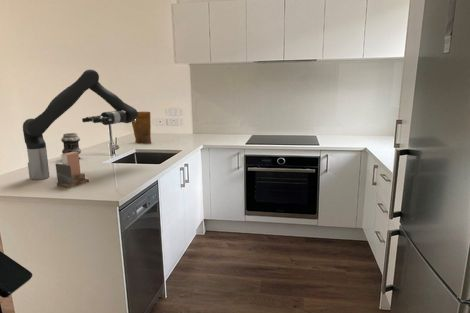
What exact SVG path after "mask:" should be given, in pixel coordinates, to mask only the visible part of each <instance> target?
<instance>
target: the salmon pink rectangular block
mask: <svg viewBox="0 0 470 313" xmlns="http://www.w3.org/2000/svg"><path fill="white" fill-rule="evenodd" d="M60 156H61V164H64V165H70V167H71V176H75V175H78V174H82V173H81V164H80V159H79V157H80V154H79V153H78V152H70V153H65V154H63V153H61V155H60Z"/></svg>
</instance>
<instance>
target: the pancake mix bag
mask: <svg viewBox="0 0 470 313" xmlns="http://www.w3.org/2000/svg"><path fill="white" fill-rule="evenodd" d="M137 112H138V116H137V118H135V119H136V124H135V122H134V120H133V121H132V122H131V125H132V130H133V134H134V139H135V140H134V142H135V144H145V145H146V144H147V145H149V144H152V139H151V134H152V133H151V129H152V128H151V127H152V126H151V124H152V123H151V122H152V121H151V112H150V111H137Z"/></svg>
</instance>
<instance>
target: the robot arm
mask: <svg viewBox="0 0 470 313" xmlns="http://www.w3.org/2000/svg"><path fill="white" fill-rule="evenodd" d="M99 81H100V75H99V73H98V72H97V71H96V70H95V69H86V70H85V71H84V72H83V73H82V74H81V75H80V76H79V78H77V79H76V80H75V82H73V83H72V84H71V85H69V86H68V87H66V88H65V89H63V90H62V91H61V92H59V93H58V94H57V95H55V97H54V98H53V99H52V100H51V101H50V102H49V104H48V105H47V107H46V108H45V110H44V111H43V112H42V113H40V114H39V115H38V116H36V117H35V118H28V119H25V121H24V122H23V124H22V132H23V139H24V143H25V145H26V152H27V158H28V162H27V168H28V169H27V170H28V176H29V177H28V178H29V180H35V181H38V180H45V179H48V178H50V177H51V176H50V167H49V159H48V152H47V146H46V145H47V143H46V142H45V139H44V135H43V134H45V132H47V130H48V128H50V126H52V124H53V123H55V122H56V120H58V119H59V118H60V117H62V116H63V114H65V113H66V112H67V111H68V110H69V109H71V108H72V107H73V106H74V105H75V104H76V103H77V102H78V100H79V99H80V98H81V96H82V95H83V94H84V93H85V92H86V91H88V90H91V91H92V92H94V93H95V94H96V95H98V96H99V97H100V98H101V99H103V100H104V101H105V102H106V103H107V104H108V105H109V106H111V108H113V109H114V110H115V111H113V110H112V111H104V112H101V113H100V115H93V116H86V117H84V118H83V117H82V118H81V120H82V123H90V122H91V123H93V124H98V123H100V124H102V125H104V126H109V125H114V124H121V123H123V124H131V123H132V121H133V120H134V119H135V118H137V116H138V112H139V111H138V110H137V109H136V108H135V107H133V106H131V105H129V104H128V103H126V102H124V101H123V99H121V98H119V96H118V95H116V94H115V93H113V92H112V91H110V90H108V89H107V88H106V87H104V85H102V84H101V83H100V82H99Z"/></svg>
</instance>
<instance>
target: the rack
mask: <svg viewBox="0 0 470 313" xmlns="http://www.w3.org/2000/svg"><path fill="white" fill-rule="evenodd" d="M55 171H56V180H57V182H56V186H57V187H63V188H68V189H71V188H75V187H78V186H80V185H85V184H87V183H89V182H90V179H89V178H86V173H84V172H82V173H81V174H78V175H75V176H71V167H70V165H64V164H62V163H55Z"/></svg>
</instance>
